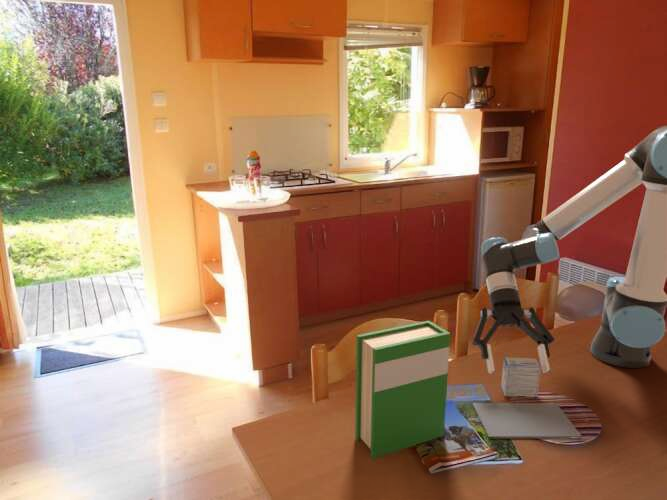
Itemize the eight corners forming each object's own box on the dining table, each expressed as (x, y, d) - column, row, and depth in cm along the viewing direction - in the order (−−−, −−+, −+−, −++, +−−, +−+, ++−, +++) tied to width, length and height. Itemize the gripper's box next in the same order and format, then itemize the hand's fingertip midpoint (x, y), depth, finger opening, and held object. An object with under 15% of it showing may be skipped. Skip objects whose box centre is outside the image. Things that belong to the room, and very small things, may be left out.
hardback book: (372, 458, 105) (375, 349, 99) (355, 438, 111) (356, 335, 105) (443, 436, 112) (450, 333, 106) (423, 418, 119) (428, 320, 112)
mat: (556, 404, 124) (556, 403, 124) (581, 438, 112) (581, 436, 111) (472, 405, 124) (472, 403, 124) (488, 438, 111) (488, 436, 111)
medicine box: (532, 389, 131) (536, 358, 129) (537, 398, 127) (541, 366, 125) (500, 387, 132) (503, 356, 130) (504, 397, 128) (507, 364, 125)
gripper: (544, 298, 141) (562, 375, 131) (453, 298, 141) (464, 376, 130) (555, 286, 135) (575, 366, 124) (460, 286, 134) (472, 367, 124)
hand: (519, 371), depth 127 cm, fingers open, 13 cm apart
